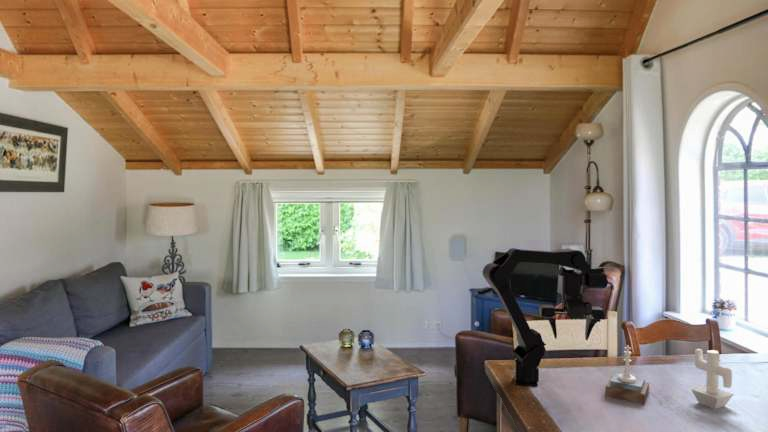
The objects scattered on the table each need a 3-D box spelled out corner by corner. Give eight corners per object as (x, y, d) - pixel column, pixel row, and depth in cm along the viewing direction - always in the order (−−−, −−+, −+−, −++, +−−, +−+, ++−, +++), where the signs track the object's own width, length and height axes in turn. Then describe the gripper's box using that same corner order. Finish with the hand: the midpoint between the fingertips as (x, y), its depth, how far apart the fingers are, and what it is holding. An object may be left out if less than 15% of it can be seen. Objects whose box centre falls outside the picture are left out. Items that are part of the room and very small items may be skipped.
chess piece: (638, 383, 138) (639, 348, 138) (620, 381, 139) (620, 347, 139) (633, 377, 143) (634, 343, 143) (615, 375, 144) (616, 342, 144)
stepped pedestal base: (605, 396, 140) (605, 381, 140) (611, 385, 148) (611, 371, 148) (644, 404, 134) (644, 388, 134) (648, 393, 143) (649, 378, 142)
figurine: (721, 413, 129) (723, 357, 129) (686, 400, 138) (687, 347, 137) (737, 408, 132) (739, 354, 132) (702, 396, 141) (704, 344, 140)
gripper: (544, 293, 145) (544, 345, 146) (611, 295, 142) (610, 348, 143) (539, 286, 156) (538, 335, 157) (600, 288, 153) (599, 337, 154)
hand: (570, 339), depth 152 cm, fingers open, 9 cm apart
